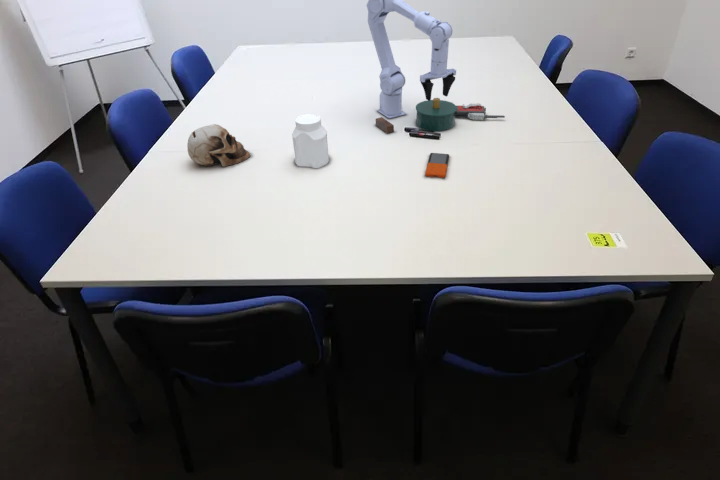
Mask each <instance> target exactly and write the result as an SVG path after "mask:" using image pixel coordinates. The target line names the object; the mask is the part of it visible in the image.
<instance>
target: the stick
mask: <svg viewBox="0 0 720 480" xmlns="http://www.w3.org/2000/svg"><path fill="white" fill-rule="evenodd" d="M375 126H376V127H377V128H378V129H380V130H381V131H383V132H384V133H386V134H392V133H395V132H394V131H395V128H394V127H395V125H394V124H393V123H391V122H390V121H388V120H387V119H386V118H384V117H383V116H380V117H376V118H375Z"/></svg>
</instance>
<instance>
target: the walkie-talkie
mask: <svg viewBox="0 0 720 480" xmlns="http://www.w3.org/2000/svg"><path fill="white" fill-rule="evenodd" d="M456 107H457V110H456V112H455V118H456V119H469V120H473V121H474V120H477V121H484V120H485V119H499V118H501V119H502V118H503V119H505V117H506V116H505V115H492V114H490V115H489V114H486V113H487V108H486V107H485V106H484V105H482V104H481V103H470V104H466V105H465V104H464V103H463V104H462V105H456Z"/></svg>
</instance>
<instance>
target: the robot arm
mask: <svg viewBox="0 0 720 480" xmlns="http://www.w3.org/2000/svg"><path fill="white" fill-rule="evenodd" d="M366 8H367V24H368V27H369V31H370V34H371V37H372V40H373V45H374V48H375V51H376V54H377V57H378V61H379V65H380V68H381V70H380V73H379V76H378V77H379V81H380V82H379V87H380V88H379V89H380V90H381V91H380V93H379V109H377V112H379V113H380V114H381V115H383V116H384V117H385V118H387V119H393V118H397V117H398V118H399V117H401V116H406V112H404V111H403V110H402V109H403V108H402V106H403V105H402V103H403V101H402V100H403V87H405V85H406V77H405V74H403V72H402V70H401V67H399V66H398V65H397V64H396V61H395V58H394V54H393V51H392V47H391V43H390V40H389V37H388V34H387V33H388V32H387V29H386V26H385V23H384V22H385V20H386V18H387V16H388V15H389V13H391V12H393V13H394V12H395V13H398V14H399V15H401V16H403V17H405V18H406V19H408V20H410V21H411V22H413V25H414V27H415V28H416V29H418V31H421V32H422V33H423V34H425V35H426V36H428V37H429V39H430V41H431V58H430V71H429V72H426V73H424V74H420V75H419V82H420V84H421V86H422V88H423V92H424V96H425V100H426V101H427V100H432V91H433V87H434V82H433V81H432V80H437V79H442V96H444V97H448V96H449V93H450V89H451V87H452V85H453V84H454V82H455V81H456V77H455V76H457V69H455V68H448V58H449V57H448V56H449V45H450V44H449V43H450V38H451V37H452V35H453V27H452V25H451V24H450V23H449V22H448V21H441V19H439V18H435V17H434V16H432V15H431V12H429V11H428V10H427V11H424V10H423V11H420V12H419V11H418V10H416V9H415V8H413V6H412V5H410V4H409V3H407V2H406V1H405V0H368V1H367V3H366Z"/></svg>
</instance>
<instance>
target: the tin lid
mask: <svg viewBox="0 0 720 480" xmlns="http://www.w3.org/2000/svg"><path fill="white" fill-rule="evenodd" d="M456 106H457V105H456V104H454V103H453V102H451V101H448V100H442V99H441V98H440V97H434V98H433V99H431V100H427V99H426V100H422V101H420V102H418V103H417V104H416V105H415V111H416V113H417V112H419V113H420V114H423V115H426V116H434V117H440V116H447V115H451V114H453V113H455V112H456V110H457V107H456Z"/></svg>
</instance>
